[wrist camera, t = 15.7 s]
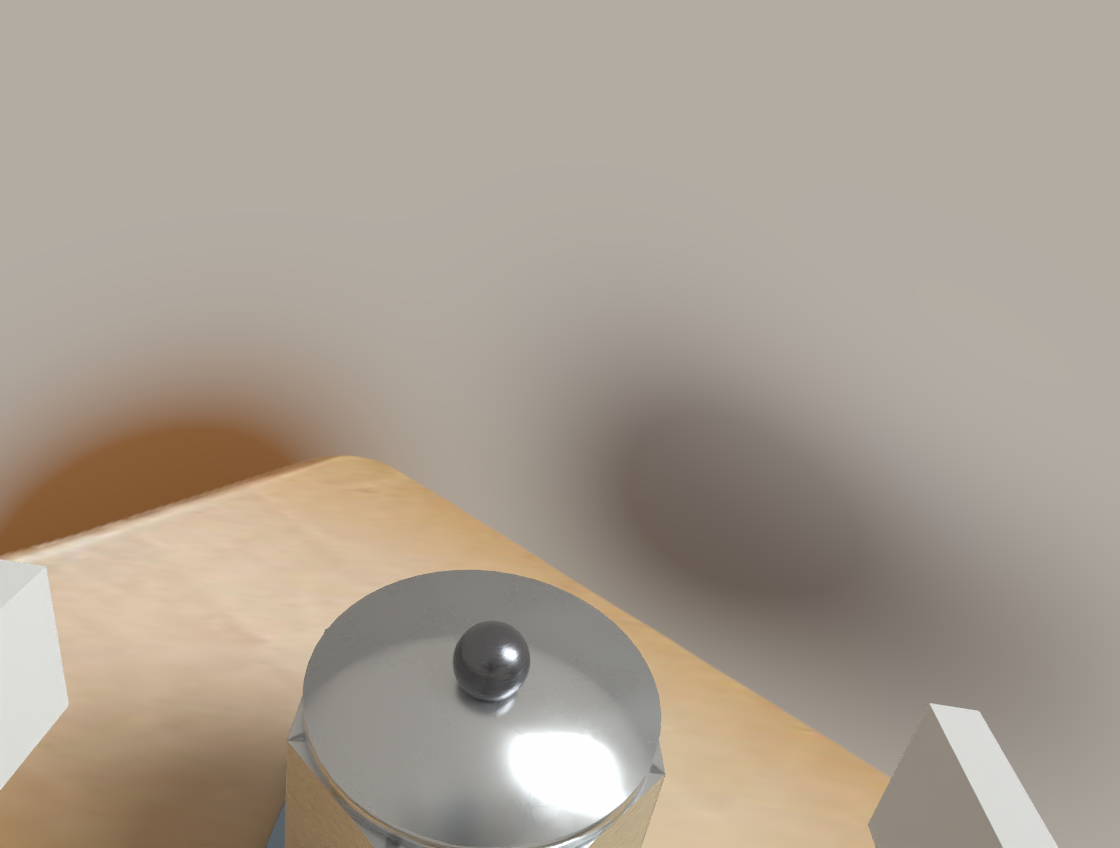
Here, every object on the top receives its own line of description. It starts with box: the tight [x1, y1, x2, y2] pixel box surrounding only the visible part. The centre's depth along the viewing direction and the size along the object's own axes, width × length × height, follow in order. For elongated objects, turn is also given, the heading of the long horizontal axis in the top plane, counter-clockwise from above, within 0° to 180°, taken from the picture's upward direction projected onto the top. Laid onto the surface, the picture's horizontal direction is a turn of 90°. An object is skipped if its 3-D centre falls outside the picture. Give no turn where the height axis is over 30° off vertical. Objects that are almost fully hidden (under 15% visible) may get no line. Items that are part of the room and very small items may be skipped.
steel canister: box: [285, 570, 665, 848], centre depth 28 cm, size 12×12×14 cm
